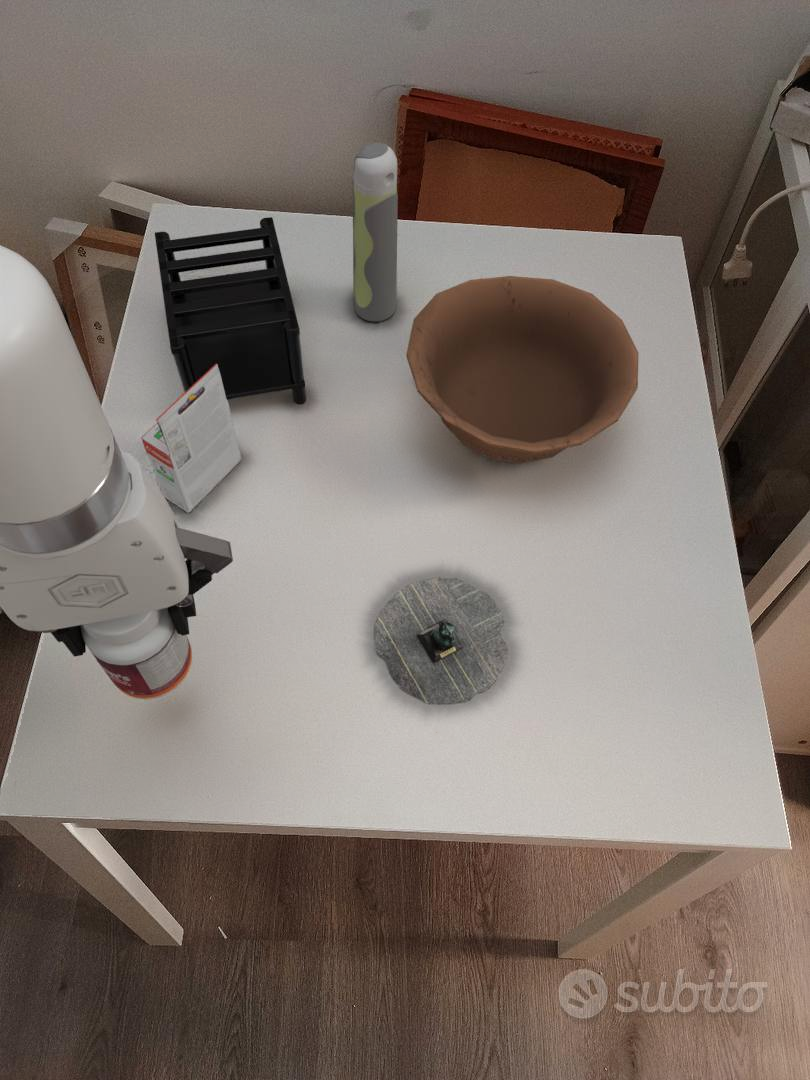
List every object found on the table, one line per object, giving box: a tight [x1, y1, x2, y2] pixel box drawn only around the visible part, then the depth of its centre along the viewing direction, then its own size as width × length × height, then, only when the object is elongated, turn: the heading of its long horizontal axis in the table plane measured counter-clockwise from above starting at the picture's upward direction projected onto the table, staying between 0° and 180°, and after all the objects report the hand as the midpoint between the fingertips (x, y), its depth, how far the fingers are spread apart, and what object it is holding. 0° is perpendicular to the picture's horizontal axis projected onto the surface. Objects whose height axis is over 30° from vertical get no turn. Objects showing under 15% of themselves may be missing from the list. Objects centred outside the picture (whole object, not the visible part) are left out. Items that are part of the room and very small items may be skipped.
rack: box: [154, 216, 307, 406], centre depth 85 cm, size 12×16×11 cm
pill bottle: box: [80, 608, 193, 700], centre depth 57 cm, size 6×6×11 cm
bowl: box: [406, 275, 639, 464], centre depth 82 cm, size 22×22×11 cm
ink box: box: [140, 364, 242, 514], centre depth 76 cm, size 4×8×15 cm, turn 145°
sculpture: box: [374, 577, 509, 705], centre depth 74 cm, size 12×9×8 cm
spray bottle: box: [352, 142, 399, 323], centre depth 86 cm, size 5×5×20 cm
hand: (130, 624), depth 56 cm, fingers closed on pill bottle, 6 cm apart
